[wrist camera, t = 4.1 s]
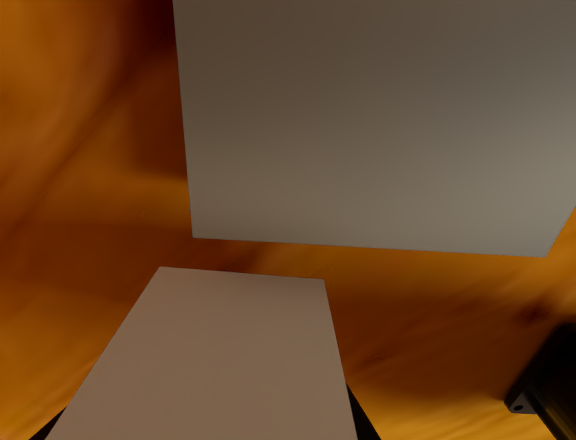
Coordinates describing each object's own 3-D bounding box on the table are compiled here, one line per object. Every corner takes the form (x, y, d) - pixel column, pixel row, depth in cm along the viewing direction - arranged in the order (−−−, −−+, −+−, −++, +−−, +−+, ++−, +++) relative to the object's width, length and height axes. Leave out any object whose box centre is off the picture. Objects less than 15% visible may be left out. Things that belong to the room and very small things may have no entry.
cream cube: (302, 381, 11) (316, 590, 6) (171, 374, 11) (90, 589, 6) (323, 279, 9) (367, 489, 4) (159, 266, 8) (18, 480, 4)
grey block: (457, 199, 11) (545, 257, 7) (223, 183, 10) (192, 237, 7) (585, -142, 7) (920, -387, 3) (213, -194, 6) (125, -552, 3)
